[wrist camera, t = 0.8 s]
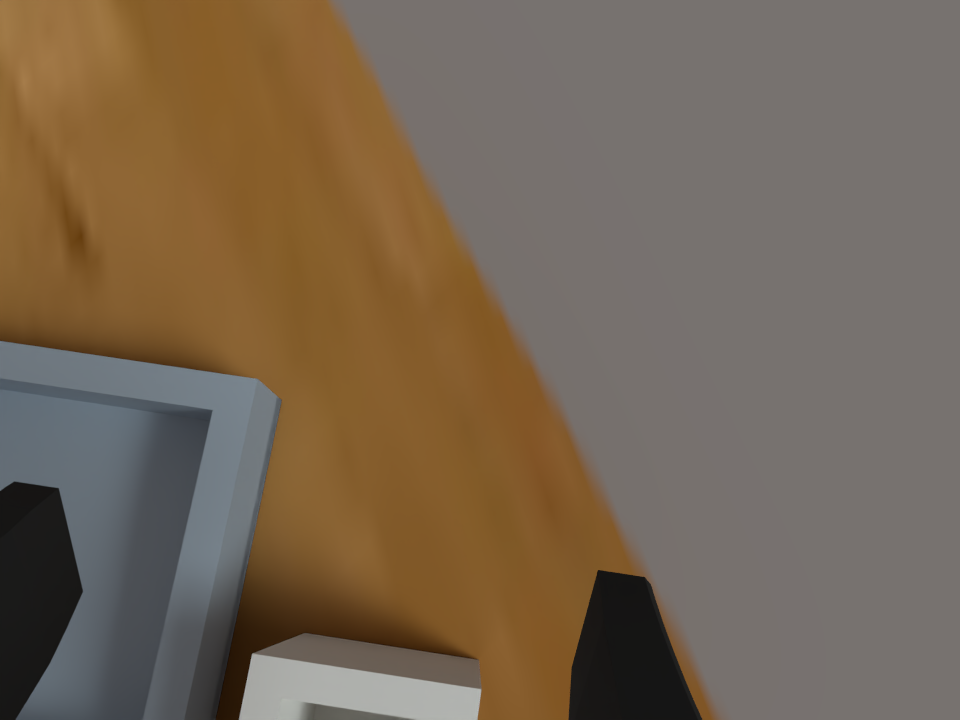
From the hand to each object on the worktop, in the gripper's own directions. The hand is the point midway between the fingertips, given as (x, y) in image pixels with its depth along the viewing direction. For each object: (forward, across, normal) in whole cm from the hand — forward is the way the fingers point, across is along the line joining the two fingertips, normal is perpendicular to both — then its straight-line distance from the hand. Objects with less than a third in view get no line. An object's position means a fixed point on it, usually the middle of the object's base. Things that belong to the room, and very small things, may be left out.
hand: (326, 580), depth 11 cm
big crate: (+8, +10, +11) cm, 17 cm away
